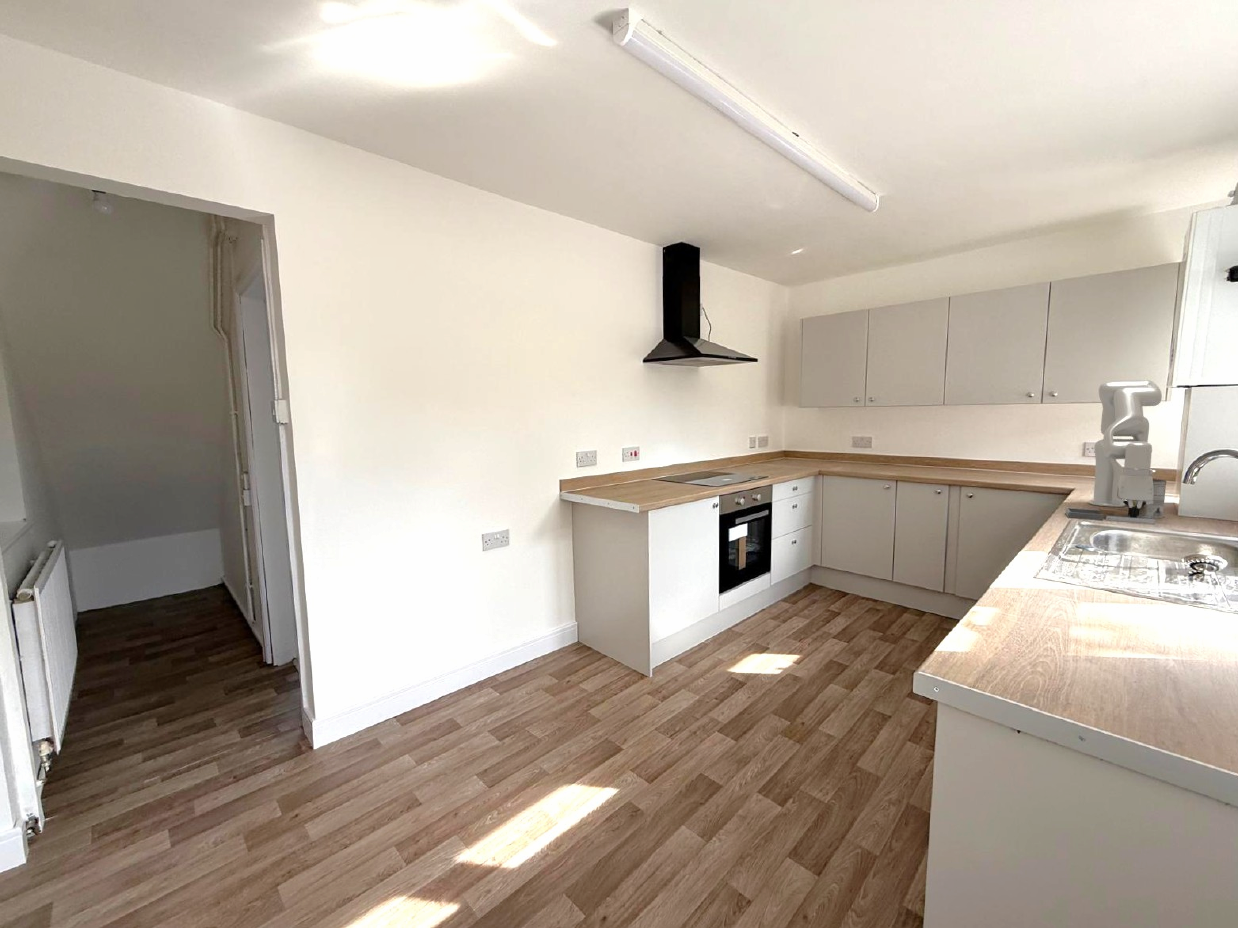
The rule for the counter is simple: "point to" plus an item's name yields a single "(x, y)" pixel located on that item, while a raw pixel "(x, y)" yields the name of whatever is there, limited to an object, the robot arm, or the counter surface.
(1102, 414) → the robot arm
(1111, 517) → the slot rails
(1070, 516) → the gray u-shaped frame
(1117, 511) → the walnut chip
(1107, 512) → the walnut chip
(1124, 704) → the counter surface
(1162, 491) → the coffee box
